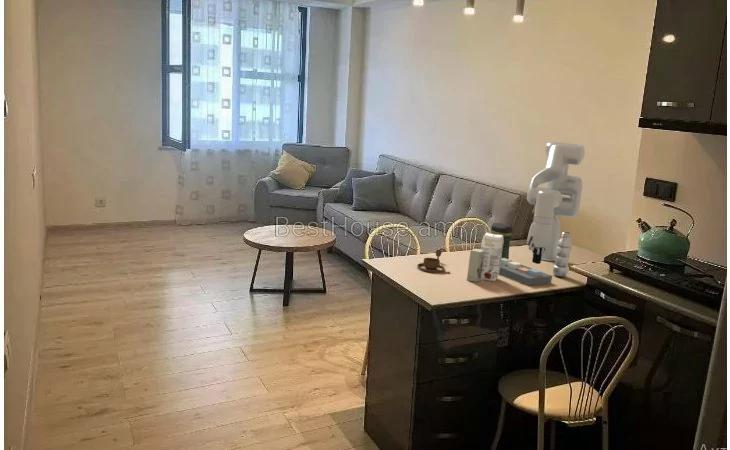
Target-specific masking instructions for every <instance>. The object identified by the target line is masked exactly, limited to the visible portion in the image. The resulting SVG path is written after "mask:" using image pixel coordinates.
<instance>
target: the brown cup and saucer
mask: <svg viewBox="0 0 730 450" xmlns="http://www.w3.org/2000/svg"><path fill="white" fill-rule="evenodd" d="M435 256H436V257H424V258H423V262H421V263H418V264H417V270H420V271H421V272H425V273H431V274H437V273H438V274H440V275H449V274H451V271H446V270H445V269H446V268H445V267H444V266H443V265H441V263H440V262H441V261H440V257H441V256H442V250H440V249H436V250H435ZM422 267H424V268H422ZM444 271H445V272H444ZM443 272H444V273H443Z"/></svg>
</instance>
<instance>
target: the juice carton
mask: <svg viewBox="0 0 730 450" xmlns="http://www.w3.org/2000/svg"><path fill="white" fill-rule="evenodd" d="M503 243H504V241H503V235H494V234H491V232H485V234H483V236H482V241H481V245H480V250H484V257H483V265H482V272H481V280H483V281H490V282H496V280H497V279H498V277H499V275H500V274H499V272H500V265H501V258H502V251H503Z"/></svg>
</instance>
